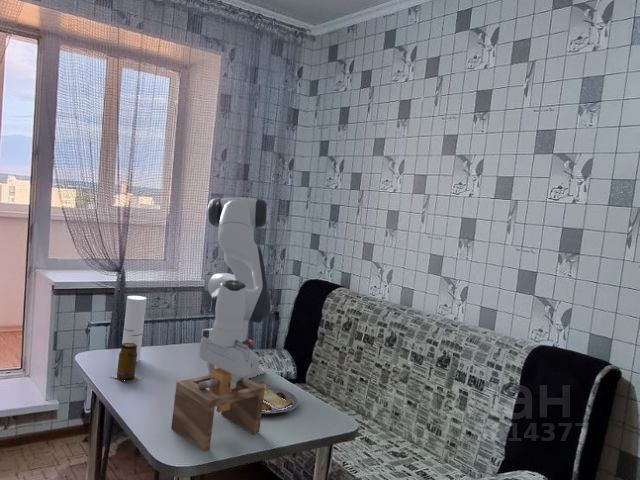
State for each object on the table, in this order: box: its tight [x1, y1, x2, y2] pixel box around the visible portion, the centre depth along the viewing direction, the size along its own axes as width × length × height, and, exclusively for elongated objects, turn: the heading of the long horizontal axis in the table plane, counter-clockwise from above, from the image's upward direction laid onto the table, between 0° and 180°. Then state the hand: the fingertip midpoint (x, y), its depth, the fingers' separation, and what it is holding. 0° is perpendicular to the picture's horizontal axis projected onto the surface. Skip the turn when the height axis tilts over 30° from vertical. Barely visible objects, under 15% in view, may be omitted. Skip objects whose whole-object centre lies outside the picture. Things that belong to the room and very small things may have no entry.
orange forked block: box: [208, 368, 232, 414], centre depth 147 cm, size 4×6×11 cm
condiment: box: [110, 343, 143, 384], centre depth 179 cm, size 7×8×12 cm
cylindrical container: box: [121, 295, 147, 363], centre depth 197 cm, size 7×7×25 cm
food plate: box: [258, 381, 299, 414], centre depth 173 cm, size 25×23×4 cm
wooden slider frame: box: [170, 375, 265, 452], centre depth 147 cm, size 20×16×16 cm
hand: (221, 382), depth 147 cm, fingers open, 8 cm apart
